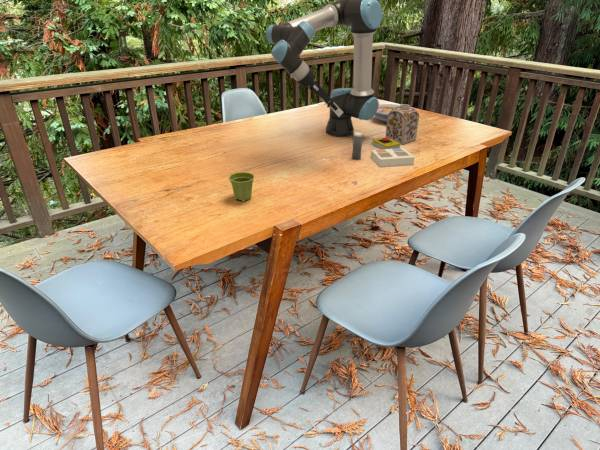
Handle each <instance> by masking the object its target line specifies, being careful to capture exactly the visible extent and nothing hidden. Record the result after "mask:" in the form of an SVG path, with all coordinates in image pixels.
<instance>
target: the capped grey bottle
mask: <svg viewBox="0 0 600 450" xmlns="http://www.w3.org/2000/svg"><path fill="white" fill-rule="evenodd" d="M363 134H364V132H361V131H355V132H354V133H353V139H352V140H353V141H352V151H351V152H352V155H351V159H352V160H354V161H358V160H359V161H360V160H361V157H362V148H363V147H362V145H363V136H364V135H363Z"/></svg>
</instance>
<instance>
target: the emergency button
mask: <svg viewBox="0 0 600 450" xmlns="http://www.w3.org/2000/svg"><path fill="white" fill-rule="evenodd" d="M370 145H371V146H373V147H375V148H376V149H378V150H379V149H394V148H401V144H400V143H398V142H396V141H394V140H392V139H389V138H387V137H385V136H384V137H383V136H382V137H379V138H374V139H372V142H371V143H370Z"/></svg>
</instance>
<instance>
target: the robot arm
mask: <svg viewBox="0 0 600 450" xmlns="http://www.w3.org/2000/svg"><path fill="white" fill-rule="evenodd" d="M383 14H384V13H383V7H382V5H381V3H380V2H379V1H378V0H336V1H333V2H330V3H328V4H326V5H324V7H323V8H321V9H319V10H317V11H313V12H310V13H308V14H306V15H305V14H304V15H303V16H300V17H297V18H294V19H292V20H289V21H286V22H283V23H281V24H270V25H268V27H267V28H266V31H265V37H266V38H265V39H266V40H267V42H268V43H270V44H272V45H274V46H273V48H272V49H271V52H270V54H271V57H273V58H274V60H275V61H276V63H278V64H279V65H280V66H281V67H282V68H283V69H284V70H285V71H286V72H287V73H288V74H289V75H290V78H291V79H294V80H295V81H296V82H297V83H298V85H299V86H301V88H303V89H306V88H308V90H310V91H311V92H312V93H314V94H315V95H316V96H318V97H319V98H320V99H321V100H322V102H324V104H325V106H326V107H327V108H329V116H328V117H329V118H328V120H327V124H326V127H325V133H326V134H327V135H329V136H331V137H338V138H339V137H341V138H342V137H344V138H345V137H351V136H352V135H354V129H355V128H354V125H353V120H352V118H354V119H358V120H361V121H362V120H363V121H370V120H371V119H373V118H374V117H375V114H376V112H377V110H378V106H379V104H380V102H379V99H378V98H377V97H376V96H375V90H374V89H373V88H372V77H373V76H372V73H373V72H372V69H373V46H374V45H373V44H374V41H373V38H374V37H373V36H374V34H376V32H377V28H379V27H380V26H381V24H382V23H381V22H382V21H383ZM339 26H345V27H350V34H351V35H352V36H353V88H352V87H339V88H334V89H332V90H331V92H330V96H329V95H328V94H327V92H326V91H325V90H324V88H323V87H322V86H320V85H321V84H319V83H318V82H317V81H316V80H315V79H316V78H317V77H316V76H317V74H316V73H315V72H314V71H313V69H311V68H310V66H309V65H308V64H307V63H306V62H305V61H304V60H303V58H302V57H300V55H301V54H302V53H303V51H304V50H305V49H306V47H307V46H308V45H309V44H310V43H311V41H312V39H313V37H314V35H315V34H316V33H315V32H318V31H321V30H322V29H325V28H335V27H339Z"/></svg>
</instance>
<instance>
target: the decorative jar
mask: <svg viewBox="0 0 600 450" xmlns="http://www.w3.org/2000/svg"><path fill="white" fill-rule="evenodd" d="M400 104H401V105H400ZM400 104H399V105H400V107H395V108H393V109H392V110H391V111H390V112H389V113H388V119H387V123H386V127H385V136H384V137H387V138H389V139H392V140H394V141H396V142H398V143H400V145H402V146H403V145H405V144H409V143H411V142H415V141H416V138H417V133H418V128H419V122H420V121H419V120H420V113H419V112H418V110H416V109H415V108H414V107H411V106H410V104H407V103H406V104H405V103H400Z"/></svg>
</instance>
